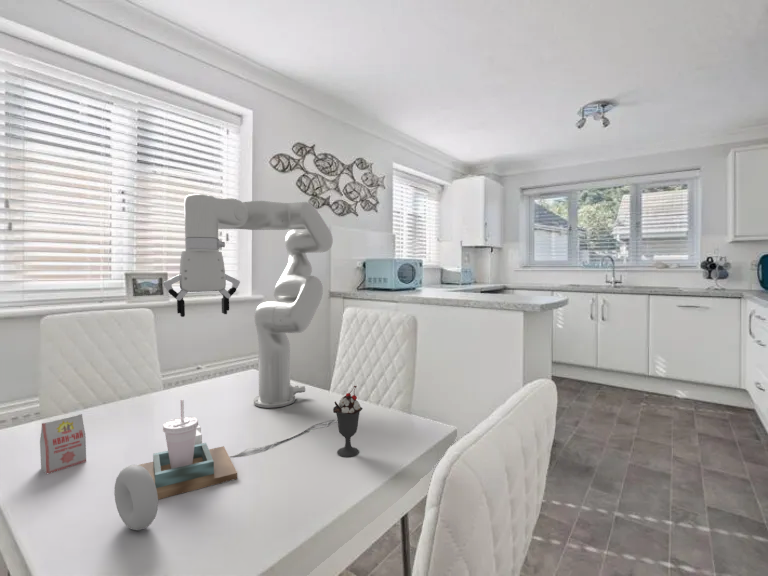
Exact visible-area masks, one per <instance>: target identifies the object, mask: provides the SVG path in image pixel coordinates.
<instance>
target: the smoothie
mask: <svg viewBox="0 0 768 576" xmlns="http://www.w3.org/2000/svg"><path fill="white" fill-rule="evenodd" d="M184 403H185V402H184V399H181V400H180V417H175V418H172V419H169V420H168V421H166V422H164V423H163V425H162V432H164V434H165V441H166V447H167V451H168V454H169V460H170V465H171V469H173V468H178V467H182V466H186V465H191V464H193V455H194V447H195V438H196V428H197V427H198V425H199V419H198V418H197V417H193V416H185V411H184V409H185V406H184V405H185V404H184ZM199 426H200V425H199Z"/></svg>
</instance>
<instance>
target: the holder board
mask: <svg viewBox="0 0 768 576" xmlns="http://www.w3.org/2000/svg"><path fill="white" fill-rule="evenodd" d="M152 459H153V461H150V462H145V463H139V464H138V465H139V466H142V467H144V468H145V469H146V470H147V471H148V472H149V474H150V475H151V477H152V478H153V481H154V483H155V486H156V490H157V495H158V500H161V499H165V498H166V499H167V498H169V497H174V496H177V495H180V494H184V493H188V492H192V491H196V490H200V489H203V488H208V487H211V485H212V486H216V485H218V484H223V483H227V482H231V481H233V480H237V479H238V471H237V469H236V467H235V466H234V463H233V462H232V460H231V457H230V455H229V454H228V451H227V450H226V448H225V446H224V445H223V446H218V447H214V448H209V447H208V444H207V442H204V443H203V442H202V444H197V445H195V447H194V455H193V464H191V465H186V466H182V467H178V468H173V469H171V465H170V460H169V454H168V450H164V451H159V452H155V453H153V454H152ZM230 480H231V481H230ZM215 484H216V485H215ZM207 486H208V487H207Z"/></svg>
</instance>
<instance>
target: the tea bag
mask: <svg viewBox="0 0 768 576" xmlns="http://www.w3.org/2000/svg"><path fill="white" fill-rule="evenodd" d="M85 430H86V429H85V425H84V420H83V414H82V413H79V414H76V415H72V416H67V417H63V418H60V419H59V418H58V419H55V420H52V421H51V420H50V421H46V422H41V431H40V439H39V447H40V448H39V450H40V452H39V453H40V454H39V455H40V470H42V471H43V472H44V473H45V475H47V473H49V474H52V473H54V471H55V472H58V471H61V470H64V469H67V468H70V467H74V466H77V465H80V464H82V463H86V462H87V444H86V443H87V442H86V438H87V437H86V431H85ZM57 470H58V471H57ZM51 472H52V473H51Z"/></svg>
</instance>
